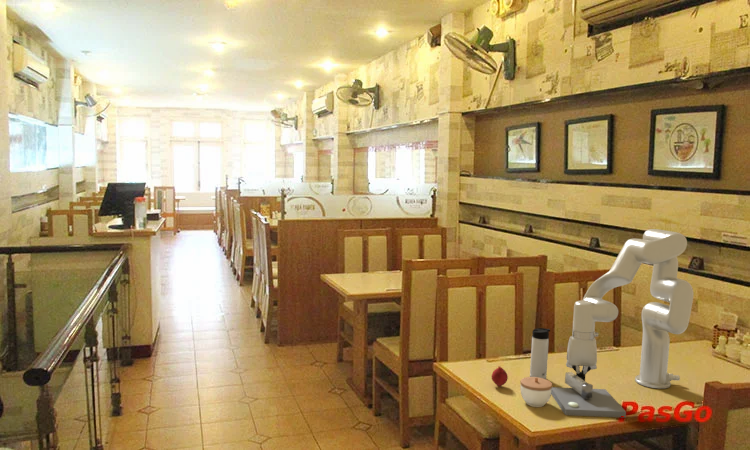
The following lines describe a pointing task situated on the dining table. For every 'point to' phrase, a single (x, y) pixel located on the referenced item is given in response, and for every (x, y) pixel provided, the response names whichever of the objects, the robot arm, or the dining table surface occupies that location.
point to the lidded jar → (535, 391)
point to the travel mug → (539, 353)
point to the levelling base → (587, 403)
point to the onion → (499, 376)
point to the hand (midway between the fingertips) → (580, 383)
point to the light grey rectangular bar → (579, 385)
